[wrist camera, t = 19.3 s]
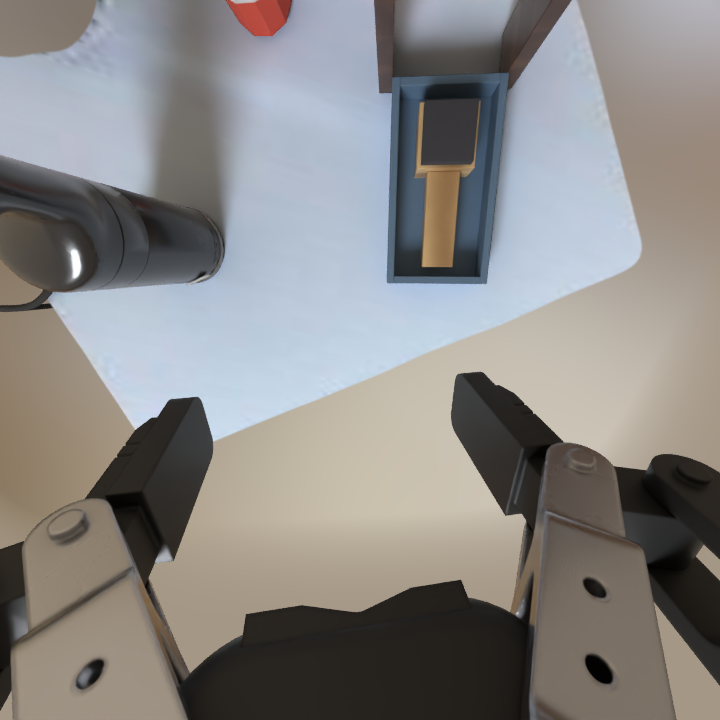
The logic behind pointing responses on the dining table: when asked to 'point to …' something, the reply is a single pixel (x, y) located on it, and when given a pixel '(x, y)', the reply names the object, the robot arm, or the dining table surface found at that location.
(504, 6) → the dining table surface
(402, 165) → the tray
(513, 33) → the frame
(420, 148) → the brush
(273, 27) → the beverage can
